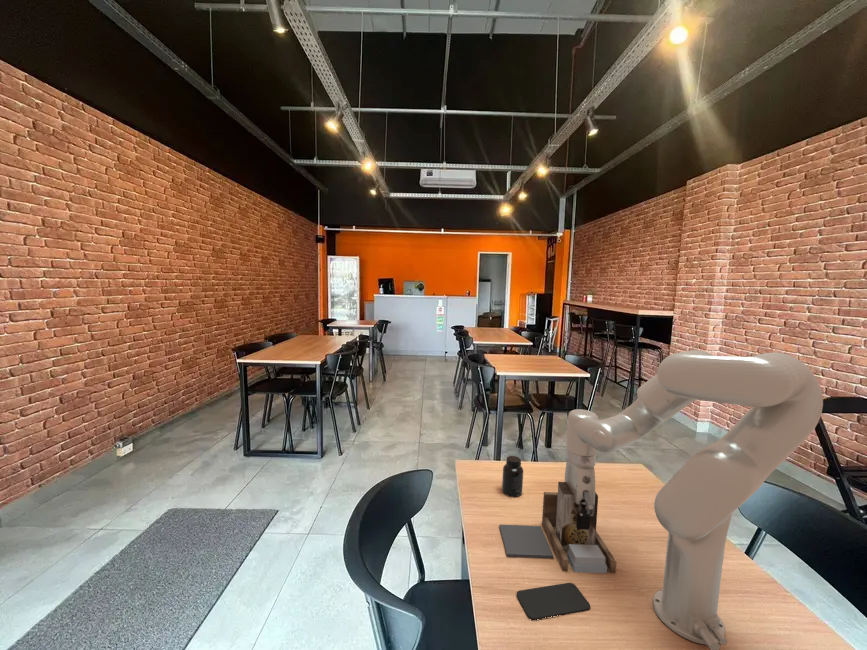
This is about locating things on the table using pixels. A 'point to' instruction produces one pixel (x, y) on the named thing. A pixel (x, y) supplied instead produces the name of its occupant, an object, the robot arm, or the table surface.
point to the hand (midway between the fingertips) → (575, 517)
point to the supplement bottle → (512, 477)
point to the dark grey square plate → (525, 541)
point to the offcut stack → (586, 558)
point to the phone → (552, 601)
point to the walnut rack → (548, 525)
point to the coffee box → (573, 519)
